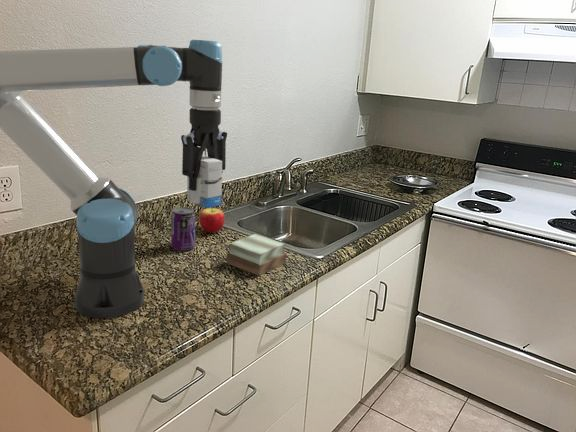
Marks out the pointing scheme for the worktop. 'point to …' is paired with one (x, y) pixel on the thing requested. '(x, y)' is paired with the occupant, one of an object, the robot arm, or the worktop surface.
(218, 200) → the ink box
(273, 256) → the pedestal
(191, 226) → the beverage can
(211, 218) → the apple
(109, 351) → the worktop surface
